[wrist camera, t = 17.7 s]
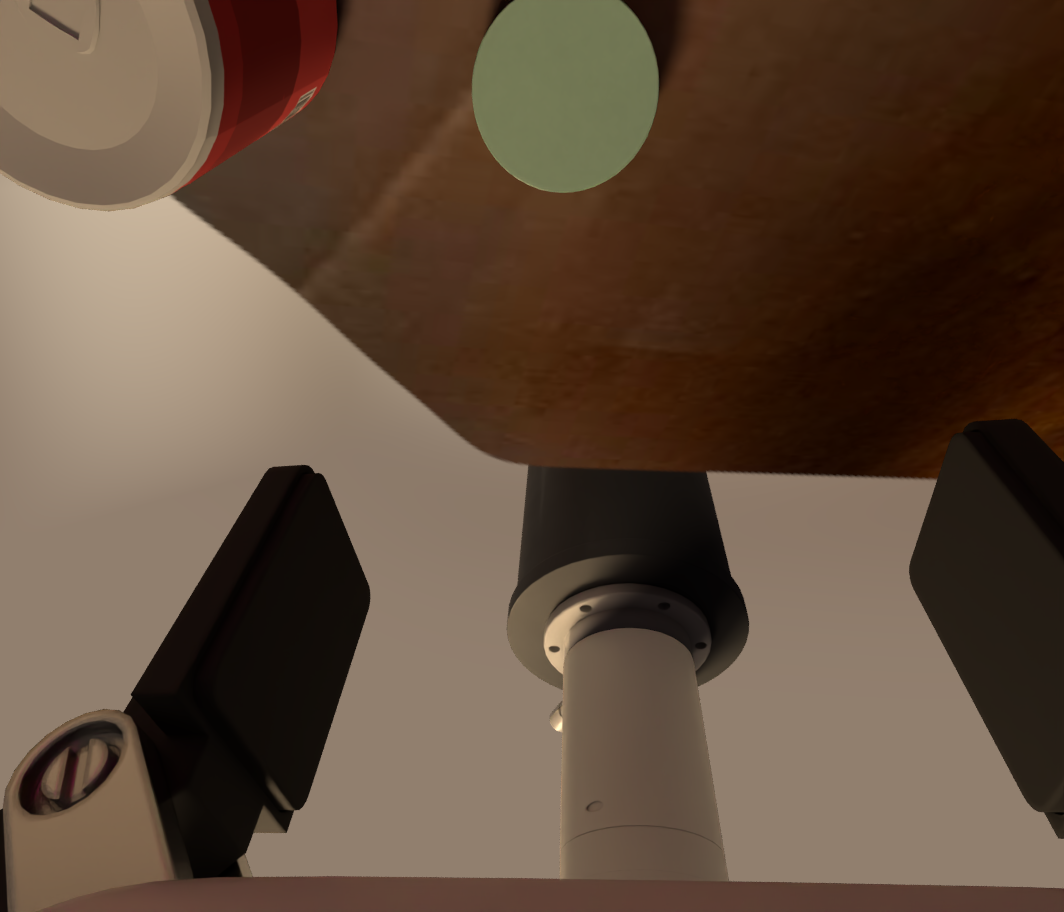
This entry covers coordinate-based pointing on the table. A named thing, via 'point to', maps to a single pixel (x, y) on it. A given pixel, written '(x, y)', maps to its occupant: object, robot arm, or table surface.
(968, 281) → the table surface
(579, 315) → the table surface
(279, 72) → the canned food
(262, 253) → the table surface
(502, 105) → the lid
